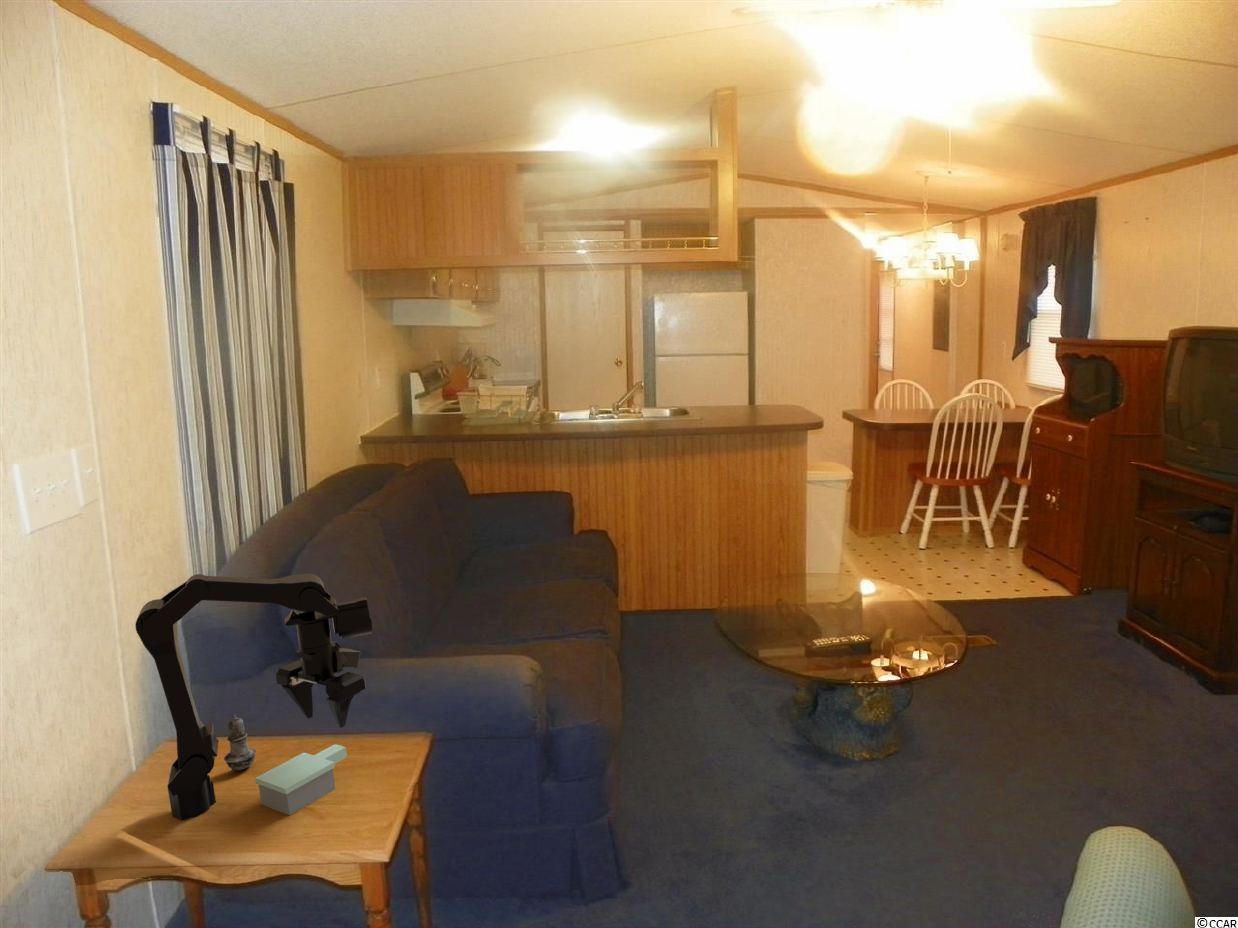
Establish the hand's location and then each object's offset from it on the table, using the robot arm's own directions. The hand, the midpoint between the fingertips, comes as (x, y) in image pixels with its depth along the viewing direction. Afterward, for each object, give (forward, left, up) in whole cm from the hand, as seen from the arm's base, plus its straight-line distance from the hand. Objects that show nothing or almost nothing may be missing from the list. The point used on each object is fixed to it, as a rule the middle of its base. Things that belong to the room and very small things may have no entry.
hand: (325, 722), depth 171 cm
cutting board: (-5, 0, -8) cm, 9 cm away
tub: (-8, 0, -12) cm, 14 cm away
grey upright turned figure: (-6, +20, -12) cm, 24 cm away
